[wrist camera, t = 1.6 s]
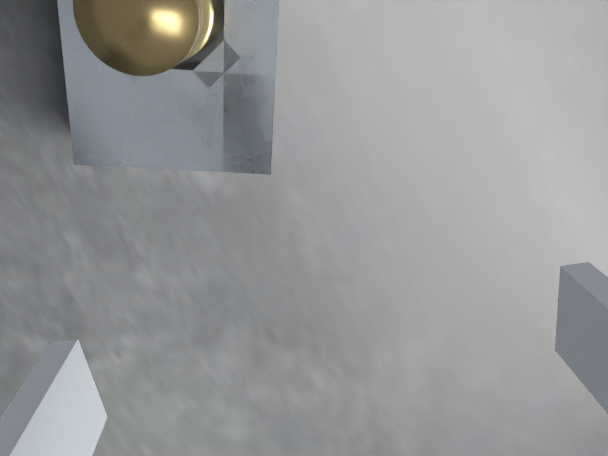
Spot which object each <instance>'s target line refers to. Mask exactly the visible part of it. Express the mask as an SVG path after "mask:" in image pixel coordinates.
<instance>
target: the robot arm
mask: <svg viewBox="0 0 608 456" xmlns="http://www.w3.org/2000/svg"><path fill="white" fill-rule="evenodd" d="M555 351H556V352H557V353H558V354H559V355H560V357H561V358H562V359H563V360H564V361H565V363H566V364H567V365H568V366H569V367H570V369H571V370H572V371H573V372H574V374H575V375H576V376H577V377H578V378H579V380H580V381H581V382H582V383H583V384H584V386H585V387H586V388H587V389H588V390H589V392H590V393H591V394H592V395H593V396H594V398H595V399H596V400H597V401H598V402H599V404H600V405H601V406H602V407H603V409H604V410H605V411H606V412H607V413H608V277H607V276H605V275H604V274H603V273H602V272H600V271H599V270H598V269H597V268H595V267H594V266H593V265H592V264H590V263H589V262H586V263H579V264H572V265H566V266H560V281H559V296H558V311H557V327H556V342H555ZM106 419H107V415H106V412H105V410H104V407H103V404H102V402H101V399H100V396H99V394H98V391H97V388H96V386H95V383H94V380H93V378H92V375H91V372H90V370H89V367H88V364H87V362H86V359H85V356H84V354H83V351H82V348H81V346H80V343H79V340H78V339H74V340H68V341H61V342H55V343H50V344H49V345H48V347H47V348H46V350H45V351H44V353H43V354H42V356H41V357H40V359H39V360H38V362H37V363H36V365H35V366H34V368H33V369H32V371H31V372H30V374H29V375H28V377H27V378H26V380H25V381H24V383H23V385H22V386H21V388H20V389H19V391H18V392H17V394H16V395H15V397H14V398H13V400H12V401H11V403H10V404H9V406H8V407H7V409H6V410H5V412H4V413H3V415H2V416H1V418H0V456H92V454H93V452H94V449H95V447H96V444H97V442H98V439H99V437H100V434H101V432H102V429H103V427H104V424H105V422H106Z"/></svg>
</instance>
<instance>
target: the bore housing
mask: <svg viewBox="0 0 608 456" xmlns="http://www.w3.org/2000/svg"><path fill="white" fill-rule="evenodd" d="M220 1H221V5H222V13H223V18H222V25H221V28H220V31H219V33H218V35H217V37H216V38H215V40H214V41H213V42H212V43H211V44H210V45H209V46H208V47H206V48H205V49H203V50H201V51H200V52H198V53H196V54H195V55H193V56H191V57H189V58H188V59H186V60H184V61H183V62H181V63H179V64H178V65H176V66H174V67H173V68H171V69H169V70H167V71H165V72H163V73H160V74H157V75H152V76H133V75H128V74H125V73H122V72H119V71H117V70H115V69H113V68H111V67H109V66H107V65H106V64H105V63H103V62H102V61H101V60H100V59H98V58H97V57H96V56H95V55H94V54H93V53H92V51H91V50H90V49H89V48H88V46H87V45H86V44H85V42H84V40H83V39H82V37H81V35H80V33H79V30H78V28H77V25H76V22H75V18H74V12H73V0H57V3H58V13H59V23H60V33H61V42H62V52H63V62H64V72H65V82H66V91H67V101H68V111H69V121H70V130H71V140H72V150H73V160H74V164H75V165H95V166H115V167H135V168H155V169H175V170H195V171H215V172H235V173H255V174H271V156H272V135H273V115H274V94H275V73H276V52H277V31H278V10H279V0H220Z"/></svg>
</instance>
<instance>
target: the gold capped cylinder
mask: <svg viewBox="0 0 608 456" xmlns="http://www.w3.org/2000/svg"><path fill="white" fill-rule="evenodd" d="M73 12H74V18H75V22H76V25H77V28H78V30H79V33H80V35H81V37H82V39H83V40H84V42H85V44H86V45H87V46H88V48H89V49H90V50H91V51H92V53H93V54H94V55H95V56H96V57H97V58H98V59H100V60H101V61H102V62H103V63H105V64H106V65H107V66H109V67H111V68H113V69H115V70H117V71H119V72H122V73H125V74H128V75H133V76H152V75H157V74H160V73H163V72H165V71H167V70H169V69H171V68H173V67H174V66H176V65H178V64H179V63H181V62H183V61H184V60H186V59H188V58H189V57H191V56H193V55H195V54H196V53H198V52H200V51H201V50H203V49H205V48H206V47H208V46H209V45H210V44H211V43H212V42H213V41H214V40H215V38H216V37H217V35H218V33H219V31H220V28H221V25H222V18H223V13H222V5H221V1H220V0H73Z"/></svg>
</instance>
